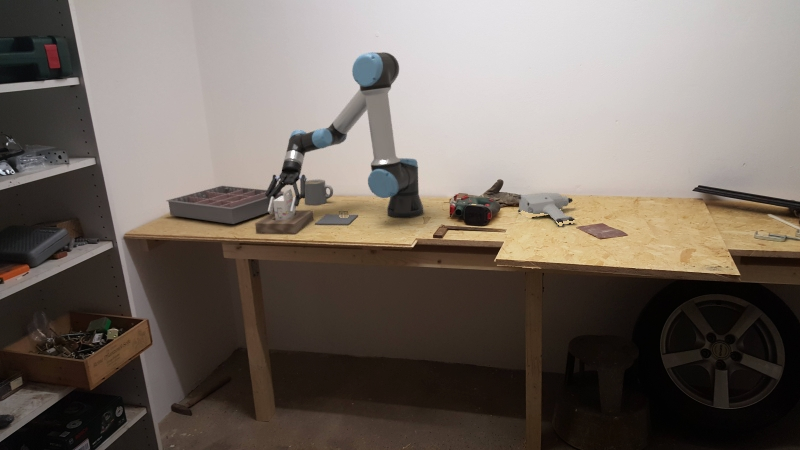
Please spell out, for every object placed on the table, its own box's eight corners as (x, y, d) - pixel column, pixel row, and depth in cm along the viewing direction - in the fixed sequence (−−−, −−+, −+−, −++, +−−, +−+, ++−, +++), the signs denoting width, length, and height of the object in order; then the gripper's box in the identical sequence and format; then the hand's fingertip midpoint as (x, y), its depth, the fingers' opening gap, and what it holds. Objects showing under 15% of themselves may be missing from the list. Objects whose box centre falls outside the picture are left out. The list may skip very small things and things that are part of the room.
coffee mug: (301, 204, 268) (298, 183, 265) (312, 199, 277) (310, 179, 274) (326, 206, 263) (325, 184, 260) (337, 201, 272) (335, 179, 269)
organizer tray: (224, 201, 282) (221, 181, 279) (287, 209, 262) (285, 187, 259) (168, 218, 256) (164, 196, 253) (233, 228, 235) (230, 204, 233)
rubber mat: (358, 216, 244) (358, 214, 244) (348, 225, 231) (348, 223, 230) (326, 215, 247) (326, 214, 247) (314, 224, 234) (314, 223, 233)
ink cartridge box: (284, 223, 238) (280, 188, 234) (295, 223, 237) (292, 188, 233) (275, 229, 230) (271, 192, 226) (287, 229, 229) (284, 192, 225)
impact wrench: (605, 214, 220) (567, 186, 240) (552, 222, 213) (518, 193, 233) (600, 233, 224) (563, 204, 244) (549, 241, 217) (515, 211, 237)
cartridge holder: (313, 220, 241) (312, 210, 240) (295, 234, 222) (294, 223, 221) (277, 219, 244) (276, 210, 243) (256, 233, 225) (255, 223, 224)
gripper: (320, 169, 240) (310, 217, 229) (271, 170, 244) (259, 217, 234) (314, 159, 233) (303, 207, 223) (264, 159, 238) (251, 207, 227)
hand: (281, 212), depth 228 cm, fingers open, 9 cm apart
